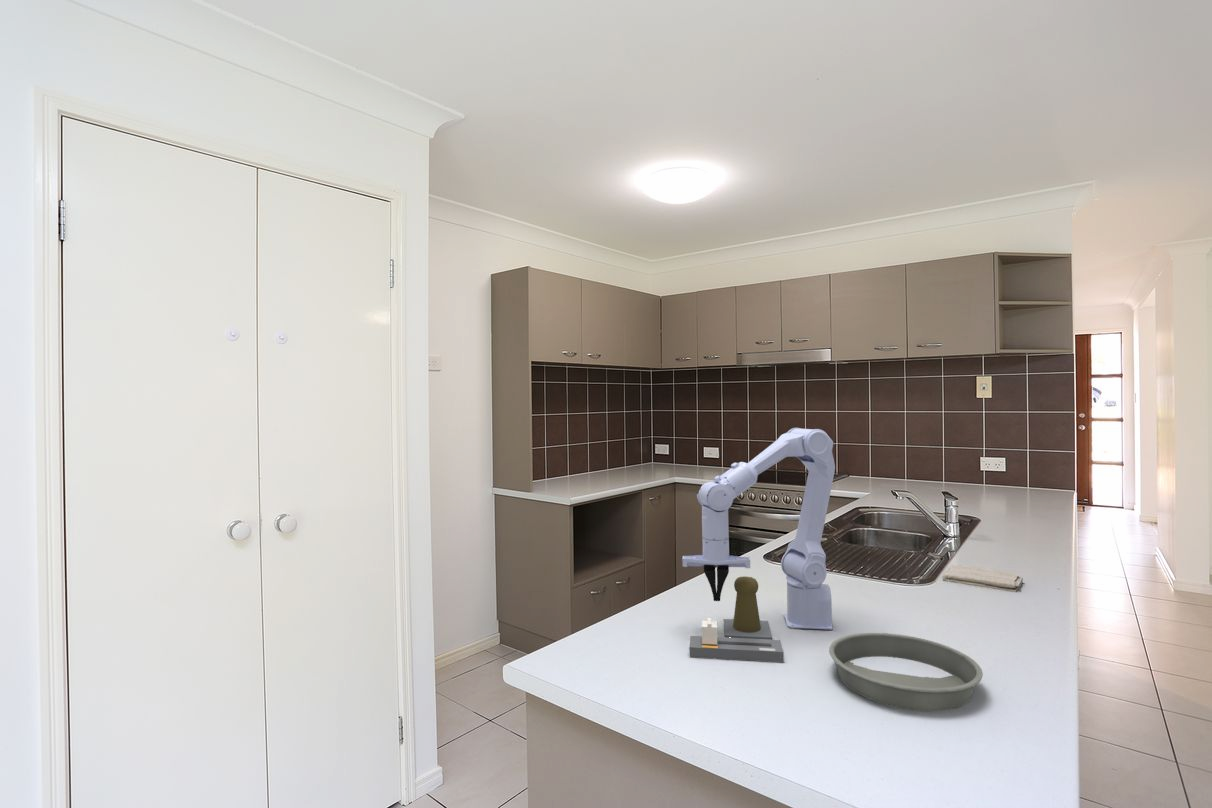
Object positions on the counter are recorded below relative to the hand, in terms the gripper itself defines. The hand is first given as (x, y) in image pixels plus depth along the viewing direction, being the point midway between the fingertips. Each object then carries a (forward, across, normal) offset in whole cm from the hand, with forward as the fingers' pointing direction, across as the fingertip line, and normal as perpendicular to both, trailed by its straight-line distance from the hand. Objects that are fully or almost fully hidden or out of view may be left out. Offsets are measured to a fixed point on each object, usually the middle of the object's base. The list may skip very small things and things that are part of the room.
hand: (716, 599), depth 133 cm
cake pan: (+8, -32, +19) cm, 38 cm away
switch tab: (+5, +2, +11) cm, 12 cm away
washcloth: (+8, -73, -46) cm, 86 cm away
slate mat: (+7, -6, -2) cm, 10 cm away
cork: (+7, -6, -2) cm, 10 cm away
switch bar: (+7, -3, +11) cm, 13 cm away
